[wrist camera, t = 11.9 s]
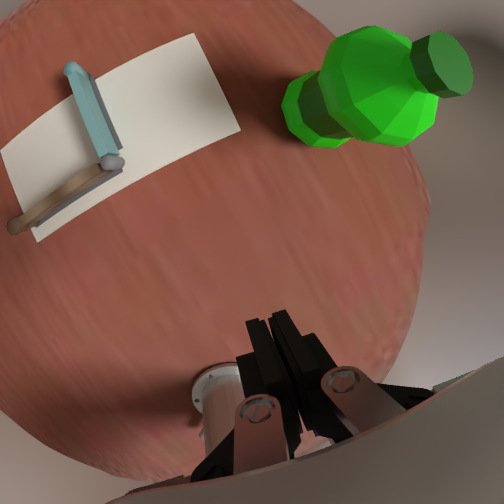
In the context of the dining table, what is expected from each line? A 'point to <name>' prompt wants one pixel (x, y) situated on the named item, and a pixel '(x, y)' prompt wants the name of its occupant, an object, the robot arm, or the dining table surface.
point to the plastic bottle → (376, 88)
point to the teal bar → (93, 117)
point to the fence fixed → (57, 199)
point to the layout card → (122, 129)
